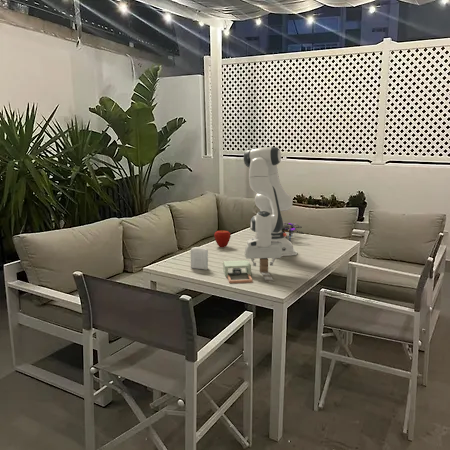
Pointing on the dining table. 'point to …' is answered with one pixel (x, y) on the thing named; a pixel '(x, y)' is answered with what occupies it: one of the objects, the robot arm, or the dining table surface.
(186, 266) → the dining table surface
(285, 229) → the drone
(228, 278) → the frame
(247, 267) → the stand
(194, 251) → the photo printer
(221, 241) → the apple
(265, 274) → the wooden handled metal tool
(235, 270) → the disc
